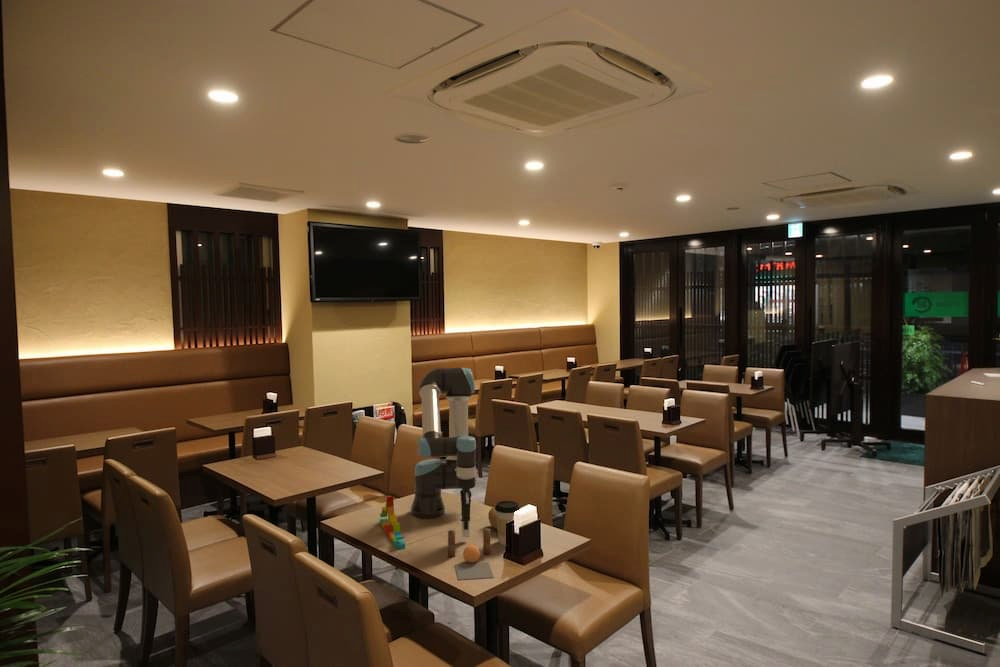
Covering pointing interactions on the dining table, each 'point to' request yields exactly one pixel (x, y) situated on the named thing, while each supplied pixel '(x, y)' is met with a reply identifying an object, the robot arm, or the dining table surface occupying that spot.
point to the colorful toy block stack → (392, 524)
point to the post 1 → (451, 543)
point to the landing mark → (473, 571)
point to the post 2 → (486, 541)
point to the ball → (471, 553)
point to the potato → (492, 517)
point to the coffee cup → (504, 517)
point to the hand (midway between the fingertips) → (465, 536)
